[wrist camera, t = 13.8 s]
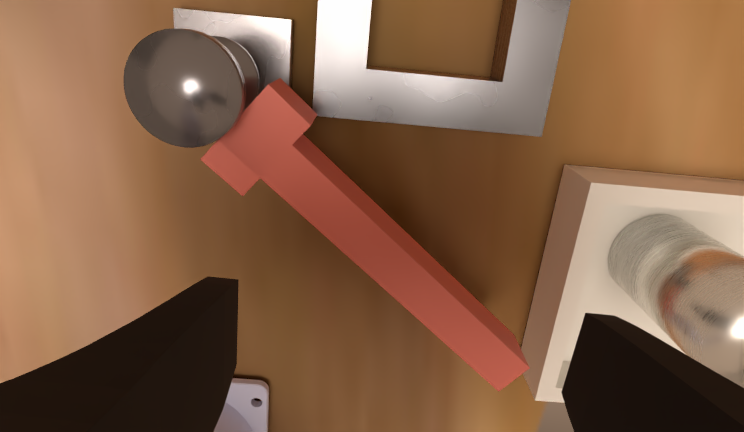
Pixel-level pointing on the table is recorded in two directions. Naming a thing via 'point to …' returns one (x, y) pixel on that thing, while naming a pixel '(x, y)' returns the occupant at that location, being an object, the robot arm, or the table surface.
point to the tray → (590, 255)
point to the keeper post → (205, 73)
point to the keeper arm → (360, 228)
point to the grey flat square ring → (441, 90)
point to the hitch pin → (685, 288)
